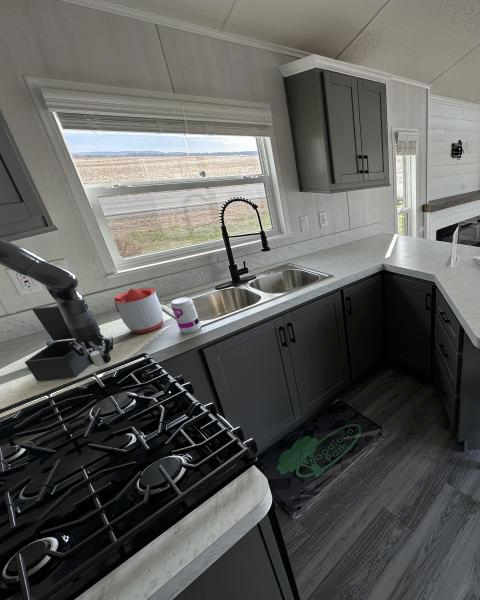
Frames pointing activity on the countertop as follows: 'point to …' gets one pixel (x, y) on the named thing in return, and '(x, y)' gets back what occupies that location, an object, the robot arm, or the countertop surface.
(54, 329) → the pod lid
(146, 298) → the citrus juicer
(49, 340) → the eagle figurine
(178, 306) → the supplement can
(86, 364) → the black tray box
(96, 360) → the cylinder
